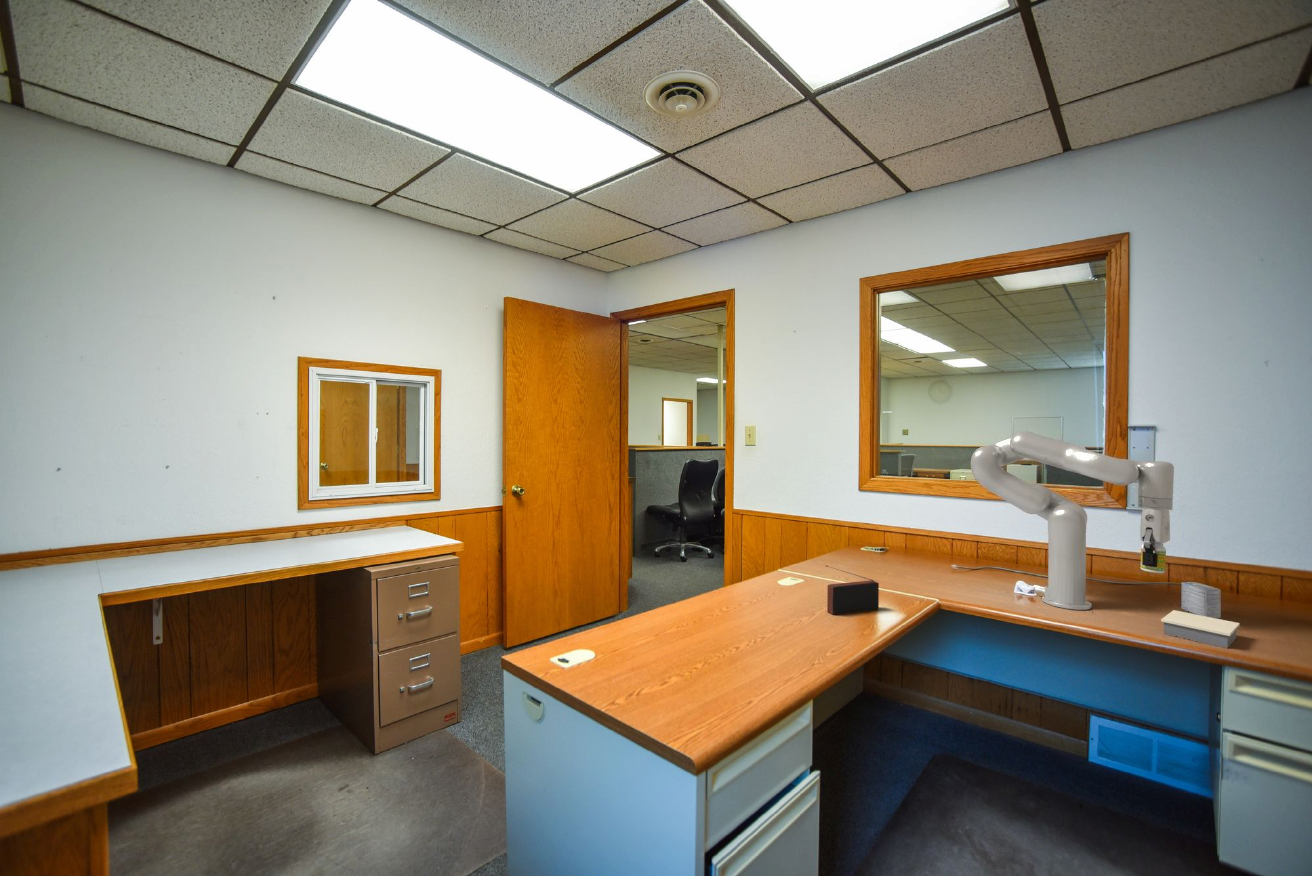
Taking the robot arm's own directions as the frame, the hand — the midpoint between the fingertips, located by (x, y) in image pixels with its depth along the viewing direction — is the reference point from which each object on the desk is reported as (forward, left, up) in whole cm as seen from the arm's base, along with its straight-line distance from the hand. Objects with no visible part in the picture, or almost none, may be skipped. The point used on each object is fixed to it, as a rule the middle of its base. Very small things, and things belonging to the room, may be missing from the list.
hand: (1152, 564), depth 160 cm
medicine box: (+7, +17, -16) cm, 25 cm away
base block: (+11, -8, -16) cm, 21 cm away
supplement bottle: (0, 0, -2) cm, 2 cm away
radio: (-56, -67, -16) cm, 88 cm away
